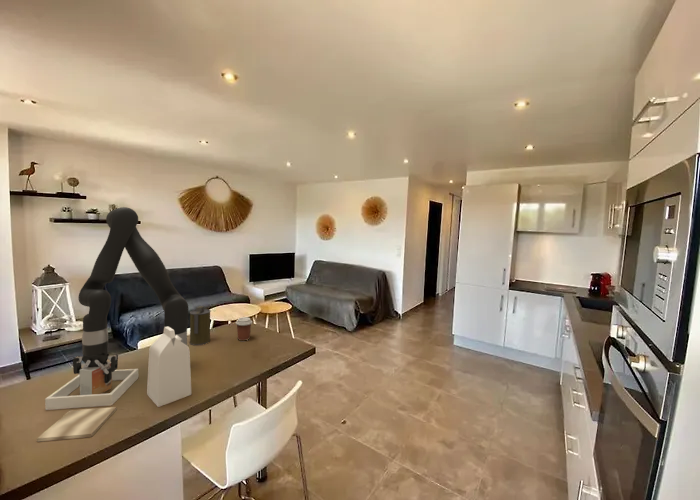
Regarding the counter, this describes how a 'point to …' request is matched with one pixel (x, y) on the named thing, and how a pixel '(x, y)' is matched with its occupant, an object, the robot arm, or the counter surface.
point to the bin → (64, 402)
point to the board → (77, 424)
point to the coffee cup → (243, 328)
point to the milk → (168, 369)
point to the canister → (199, 326)
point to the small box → (93, 381)
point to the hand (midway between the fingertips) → (96, 382)
